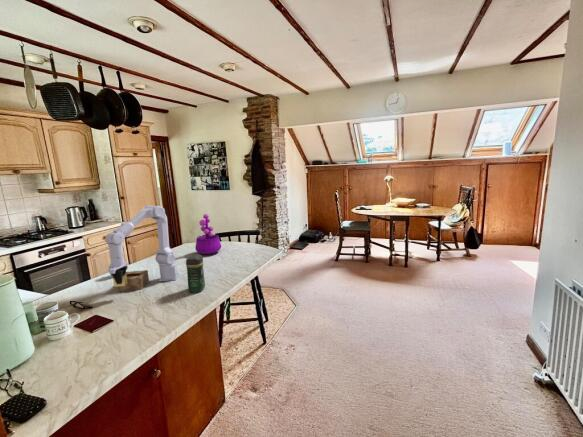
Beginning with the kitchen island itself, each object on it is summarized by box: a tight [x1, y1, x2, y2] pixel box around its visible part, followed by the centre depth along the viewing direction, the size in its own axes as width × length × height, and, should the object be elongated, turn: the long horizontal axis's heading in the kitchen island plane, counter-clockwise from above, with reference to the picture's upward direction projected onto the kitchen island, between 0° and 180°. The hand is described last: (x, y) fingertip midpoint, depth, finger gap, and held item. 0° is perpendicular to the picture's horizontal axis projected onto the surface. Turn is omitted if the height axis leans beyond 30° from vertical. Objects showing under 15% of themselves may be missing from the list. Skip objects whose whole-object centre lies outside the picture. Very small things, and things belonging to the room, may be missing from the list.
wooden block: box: [112, 274, 128, 288], centre depth 145 cm, size 5×3×5 cm, turn 99°
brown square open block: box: [116, 269, 150, 292], centre depth 160 cm, size 12×12×6 cm
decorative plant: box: [195, 213, 222, 255], centre depth 217 cm, size 19×18×30 cm
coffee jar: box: [185, 253, 206, 294], centre depth 152 cm, size 10×8×19 cm
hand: (120, 282), depth 145 cm, fingers closed on wooden block, 3 cm apart
